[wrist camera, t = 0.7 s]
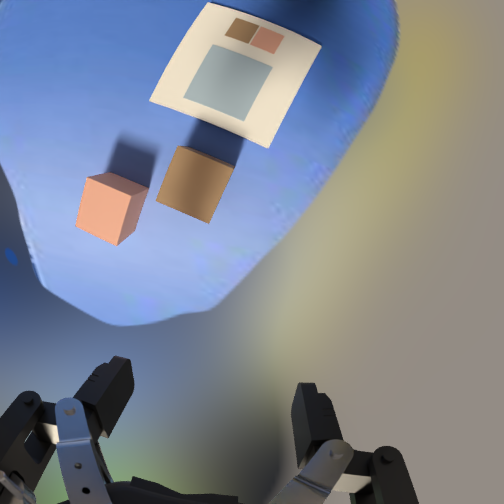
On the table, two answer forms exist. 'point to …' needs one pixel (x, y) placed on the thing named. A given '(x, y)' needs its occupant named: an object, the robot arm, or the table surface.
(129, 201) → the coral block
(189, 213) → the walnut block
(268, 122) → the board
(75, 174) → the table surface
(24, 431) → the robot arm
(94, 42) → the table surface
